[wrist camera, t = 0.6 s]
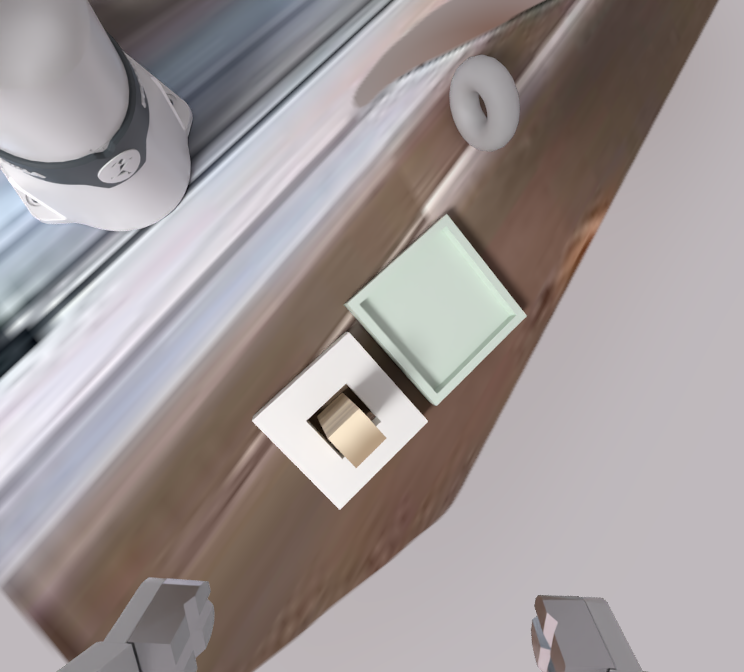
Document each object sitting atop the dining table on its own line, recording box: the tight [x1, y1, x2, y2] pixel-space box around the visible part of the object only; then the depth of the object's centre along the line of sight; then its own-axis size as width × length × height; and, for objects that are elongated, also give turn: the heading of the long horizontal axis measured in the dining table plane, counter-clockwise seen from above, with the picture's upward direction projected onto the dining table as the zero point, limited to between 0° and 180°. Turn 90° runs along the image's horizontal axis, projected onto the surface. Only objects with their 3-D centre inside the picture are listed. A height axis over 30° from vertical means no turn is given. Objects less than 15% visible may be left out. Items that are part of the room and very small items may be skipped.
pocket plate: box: [252, 332, 428, 510], centre depth 48 cm, size 14×14×2 cm
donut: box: [449, 55, 520, 152], centre depth 47 cm, size 10×3×10 cm, turn 31°
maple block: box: [317, 393, 386, 468], centre depth 44 cm, size 4×4×10 cm
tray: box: [344, 214, 526, 406], centre depth 50 cm, size 16×16×2 cm
